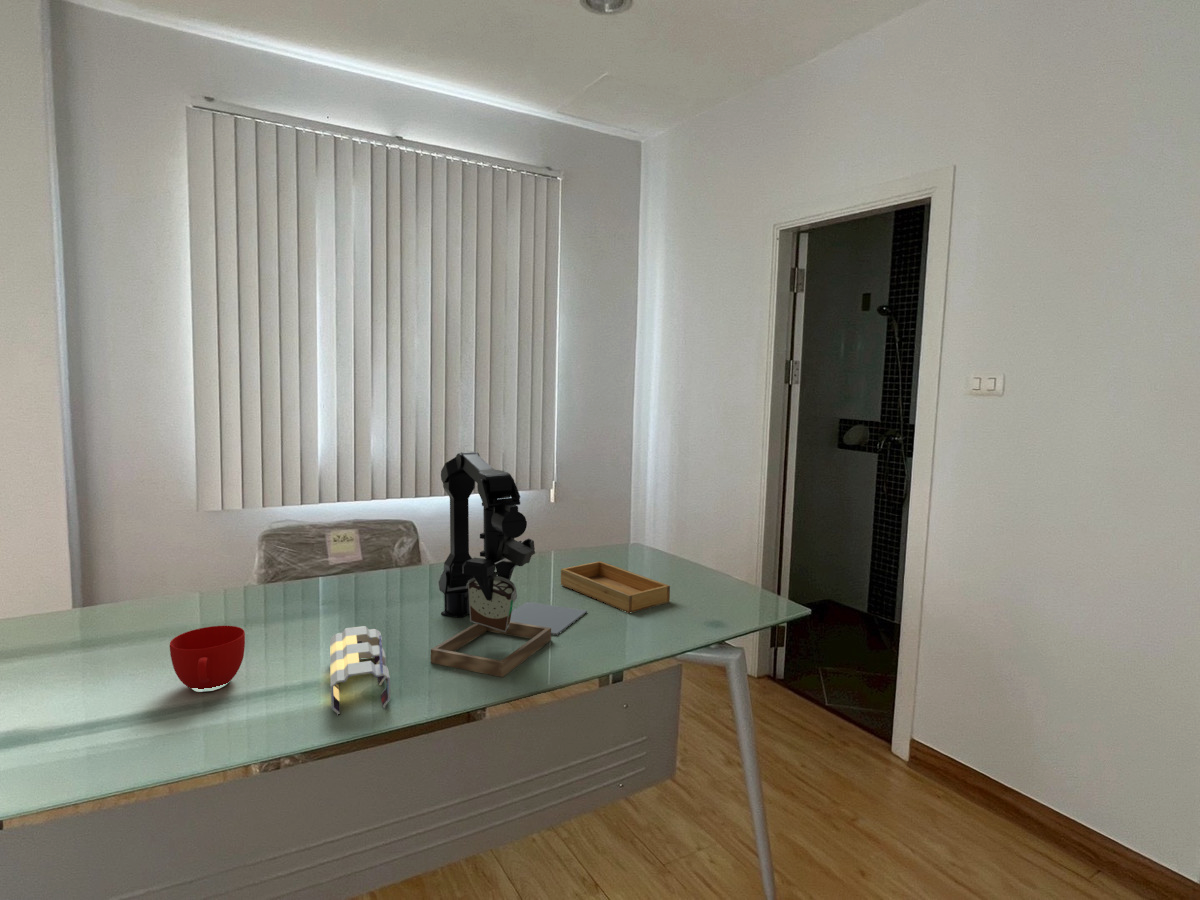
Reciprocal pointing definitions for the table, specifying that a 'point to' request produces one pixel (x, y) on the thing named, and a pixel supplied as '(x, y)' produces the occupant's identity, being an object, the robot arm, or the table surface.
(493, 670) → the walnut frame
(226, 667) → the ceramic cup
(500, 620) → the food container
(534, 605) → the slate mat
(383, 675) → the jagged striped arch
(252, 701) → the table surface
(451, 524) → the robot arm
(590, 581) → the tray
